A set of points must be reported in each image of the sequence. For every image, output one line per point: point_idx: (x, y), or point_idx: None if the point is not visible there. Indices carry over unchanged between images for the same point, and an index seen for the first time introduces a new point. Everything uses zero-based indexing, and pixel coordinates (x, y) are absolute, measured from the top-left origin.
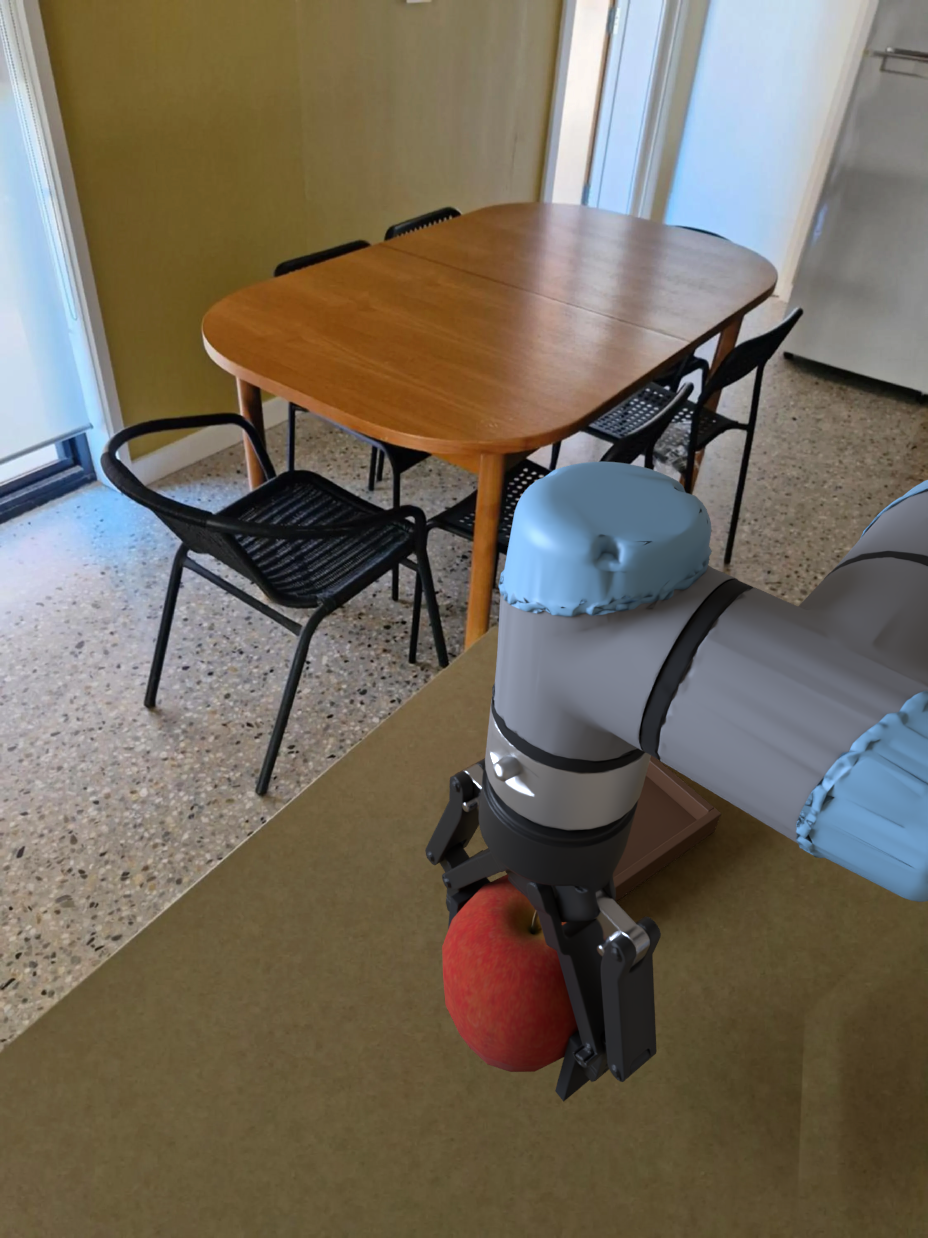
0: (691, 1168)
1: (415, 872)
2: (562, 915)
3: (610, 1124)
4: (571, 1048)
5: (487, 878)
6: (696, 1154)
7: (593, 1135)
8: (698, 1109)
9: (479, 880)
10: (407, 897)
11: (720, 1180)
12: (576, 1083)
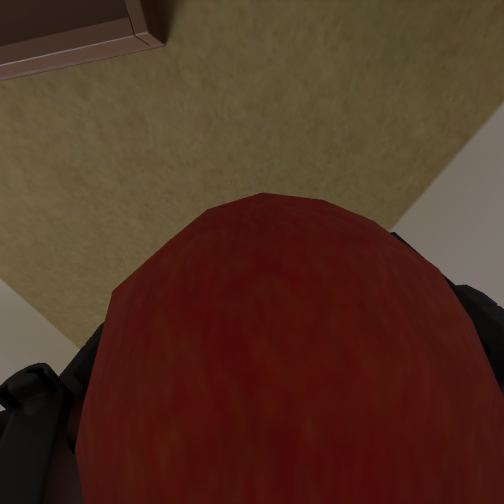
0: (440, 106)
1: (59, 194)
2: None
3: (358, 157)
4: None
5: (81, 371)
6: (437, 91)
7: (355, 177)
8: (413, 52)
9: (83, 384)
10: (87, 213)
11: (470, 84)
12: None
